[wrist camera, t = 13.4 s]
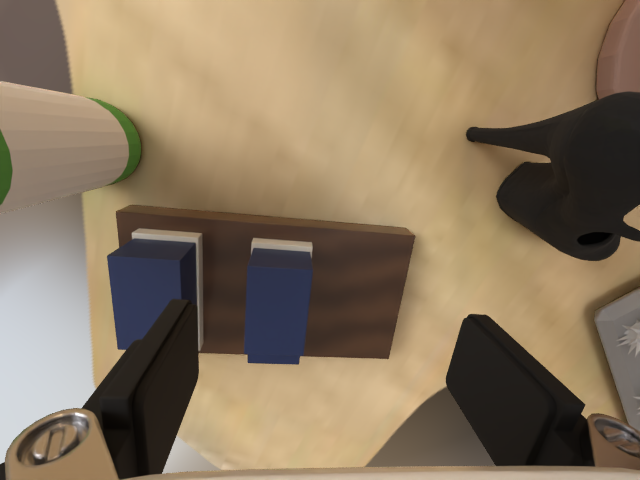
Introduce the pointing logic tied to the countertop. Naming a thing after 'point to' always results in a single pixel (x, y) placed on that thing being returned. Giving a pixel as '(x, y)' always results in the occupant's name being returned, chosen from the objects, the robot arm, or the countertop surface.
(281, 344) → the blue pale-edged block
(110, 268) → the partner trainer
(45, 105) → the wine bottle
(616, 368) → the decorative tray
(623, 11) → the hourglass
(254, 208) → the countertop surface
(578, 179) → the high-heeled shoe
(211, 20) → the countertop surface
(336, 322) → the dark brown flat board
